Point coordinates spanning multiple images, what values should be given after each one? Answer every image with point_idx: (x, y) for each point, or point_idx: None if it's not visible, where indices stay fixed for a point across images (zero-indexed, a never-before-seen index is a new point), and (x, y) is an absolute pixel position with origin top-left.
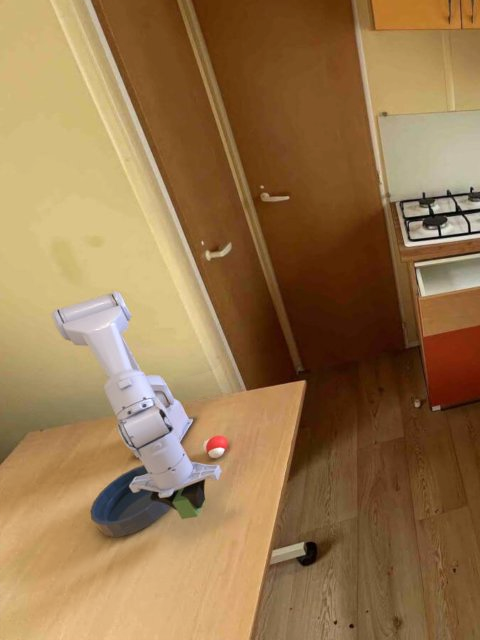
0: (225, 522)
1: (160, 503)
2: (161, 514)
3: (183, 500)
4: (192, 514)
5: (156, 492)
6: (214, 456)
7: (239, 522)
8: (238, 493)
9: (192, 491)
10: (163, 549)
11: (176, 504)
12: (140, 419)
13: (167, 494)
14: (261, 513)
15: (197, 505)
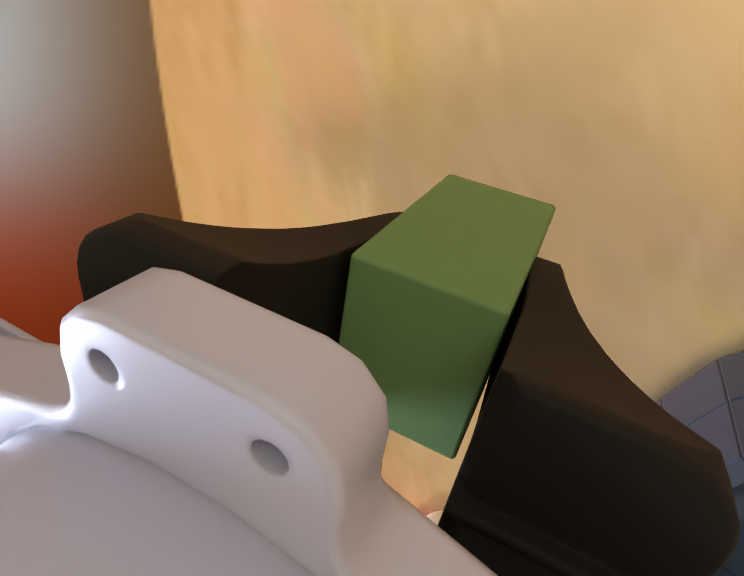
0: (355, 108)
1: (727, 427)
2: (741, 356)
3: (391, 268)
4: (461, 189)
5: (622, 555)
6: None
7: (286, 74)
8: None
9: (93, 242)
10: (736, 57)
11: (492, 279)
12: None
13: (97, 318)
14: (201, 85)
15: (381, 216)
